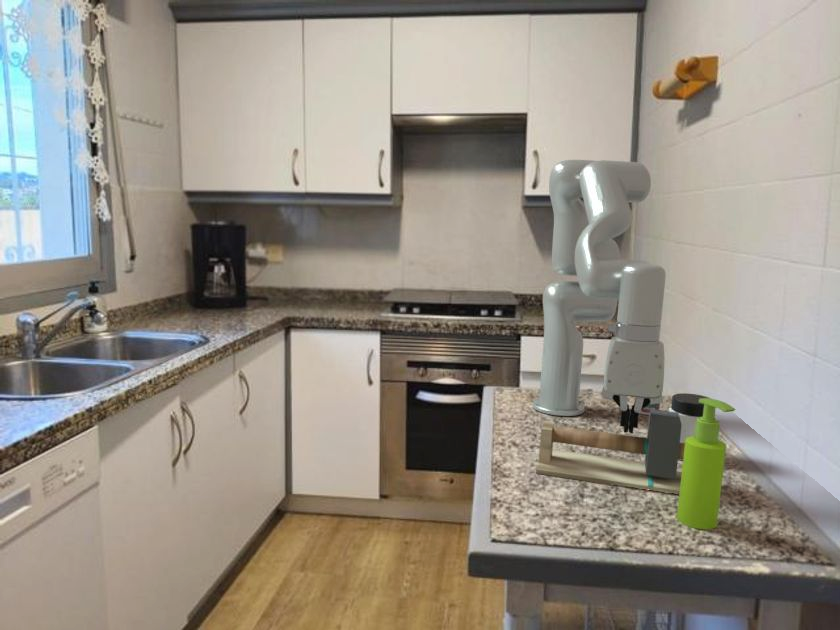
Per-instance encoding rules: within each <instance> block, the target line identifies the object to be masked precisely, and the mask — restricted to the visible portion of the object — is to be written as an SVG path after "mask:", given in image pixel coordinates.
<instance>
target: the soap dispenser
mask: <svg viewBox="0 0 840 630" xmlns="http://www.w3.org/2000/svg"><path fill="white" fill-rule="evenodd" d="M699 402H700V403H703V404H704V409H703V416H702V417H700V418H697V420H696V428H695V436H691V437H687V438H686V440H685V449H684V458H683V461H682V467H681V468H682V476H681V485H680V494H679V495H678V502H677V503H678V504H677V515H676V519H677V518H678V519H677V520H678V521H679V522H680V523H681V522H682V524H683V525H684V526H687V527H690V528H694V529H696V530H697V529H699V530H713V529H716V527H717V525H718V517H719V510H720V503H721V502H720V501H721V492H722V484H723V477H724V476H723V475H724V467H725V460H726V451H727V444H726V443H724V442H723V441H722V440H719V435H720V434H719V433H720V426H721V425H720V424H721V422H720V420H718V419H717V418H716V419H715V415H716V410H717V409H718V410H720V411H722V412H723V413H729V412H730V413H731V412H734V411H736V409H735V408H734V407H733V406H732V405H730V404H729V403H727V402H724V401H721V400H718V399H714V398H711V397H709V398H701V399H699Z"/></svg>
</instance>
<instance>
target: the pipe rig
mask: <svg viewBox="0 0 840 630" xmlns="http://www.w3.org/2000/svg"><path fill="white" fill-rule="evenodd" d="M555 423H556V422H554V421H545V420H544V421H543V423H542V425H541V427H540V437H539V438H540V439H539V440H540V441H539V453H538V464H537V466H536V470H535V474H537V475H543V476H549V477H557V478H563V479H571V480H577V481H582V482H583V481H584V482H589V481H590V482H591V483H595V482H597V483H596V484H602V483H605V484H604V485H608V484H613V485H612V486H615V485H620V486H619V487H622V486H628V487H635V488H642V489H649V490H654V491H661V492H668V493H674V494H680V485H681V476H682V467H680V466H677V472H676V479H671V478H665V477H658V476H651V475H646V469H645V461H638V460H631V459H623V458H618V457H617V458H616V457H610V456H602V455H596V454H595V455H594V454H587V453H580V452H573V451H565V450H560V449H554V443H558V444H566V445H573V446H574V445H575V446H581V447H588V448H595V449H602V450H610V451H617V452H624V453H625V452H626V453H633V454H639V455H644V456H645V455H647V454H648V444H649V438H647V437H641V436H633V435H627V434H617V433H611V432H603V431H602V432H601V431H595V430H586V429H580V428H579V429H578V428H571V427H564V426H558V425H555ZM684 449H685V443H680V445H679V454H678V459H681V460H680V461H682V460H683V458H684ZM628 487H627V488H628ZM635 488H634V489H635ZM654 491H653V492H654ZM661 492H660V493H661ZM668 493H667V494H668ZM674 494H673V495H674Z"/></svg>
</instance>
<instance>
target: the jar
mask: <svg viewBox="0 0 840 630" xmlns="http://www.w3.org/2000/svg"><path fill="white" fill-rule="evenodd" d="M671 398H672V399H671V405H670V406H669V407H668V412H676V413H678V414H679V417H680V421H681V424H682V426H681V436H680V443H685V440H686V438H687V437H691V436H695V428H696V420H697V418H700V417H702V416H703V409H704V404H703V403H700V402H699V399H701V398H710V397H708V396H705V395H702V394H697V393H696V394H695V393H685V392H684V393H683V392H682V393H680V392H679V393H675V394H673V395H672V396H671ZM715 419H716V420H717V414H715ZM678 461H682V462H683V460H681V459H678Z"/></svg>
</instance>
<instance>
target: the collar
mask: <svg viewBox="0 0 840 630" xmlns="http://www.w3.org/2000/svg"><path fill="white" fill-rule="evenodd" d="M648 416H649V417H648V423H647V425H648V426H647V433H646V434H647V435H646V438H649V444H648V454H647V455H645V454H644V462H645V469H646V475H651V476H658V477H665V478H671V479H676V472H677V467H678V461H679V460H678V454H679V445H680V436H681V426H682V424H681V421H680V417H679V414H678V413H676V412H669V410H667V411H666V410H660V409H659V410H651V409H650V413H649V415H648Z"/></svg>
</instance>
